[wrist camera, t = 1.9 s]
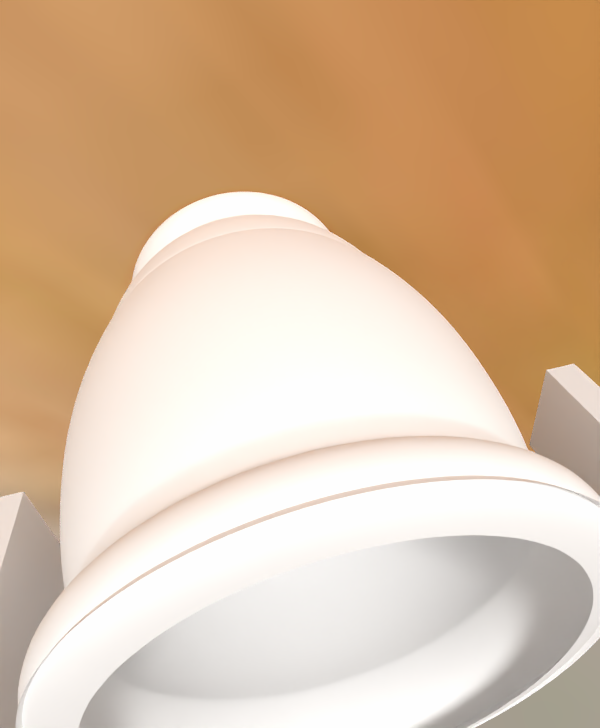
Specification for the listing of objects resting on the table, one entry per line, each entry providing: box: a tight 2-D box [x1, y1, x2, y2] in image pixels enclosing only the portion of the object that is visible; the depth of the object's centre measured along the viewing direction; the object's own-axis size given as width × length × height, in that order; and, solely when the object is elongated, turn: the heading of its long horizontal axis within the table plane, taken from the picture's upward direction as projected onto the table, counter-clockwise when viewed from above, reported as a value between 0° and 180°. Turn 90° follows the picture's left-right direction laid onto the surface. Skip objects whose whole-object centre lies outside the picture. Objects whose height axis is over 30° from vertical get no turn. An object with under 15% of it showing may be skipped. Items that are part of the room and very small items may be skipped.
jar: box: [16, 192, 600, 728], centre depth 15 cm, size 11×10×15 cm
